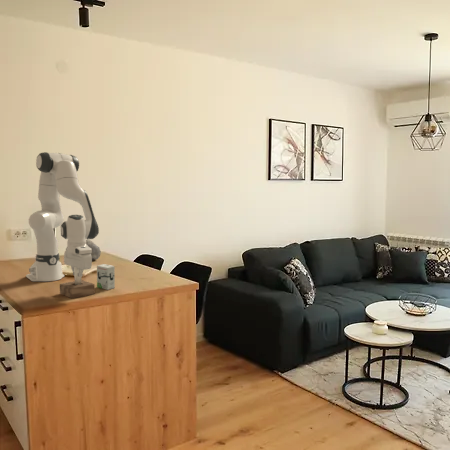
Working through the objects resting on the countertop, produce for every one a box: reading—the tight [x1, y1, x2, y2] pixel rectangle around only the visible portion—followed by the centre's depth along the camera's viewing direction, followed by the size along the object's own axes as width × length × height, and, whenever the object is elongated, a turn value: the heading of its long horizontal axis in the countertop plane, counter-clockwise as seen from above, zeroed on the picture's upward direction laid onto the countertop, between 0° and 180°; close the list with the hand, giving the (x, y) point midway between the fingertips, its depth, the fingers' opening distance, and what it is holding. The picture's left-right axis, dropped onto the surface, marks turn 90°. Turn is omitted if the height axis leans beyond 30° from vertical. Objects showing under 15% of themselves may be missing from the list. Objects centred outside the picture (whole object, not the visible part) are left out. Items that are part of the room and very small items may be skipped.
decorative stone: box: [86, 239, 102, 261], centre depth 312 cm, size 15×10×15 cm
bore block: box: [59, 279, 96, 299], centre depth 228 cm, size 12×12×5 cm
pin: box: [73, 267, 82, 285], centre depth 227 cm, size 3×3×10 cm
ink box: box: [96, 263, 116, 291], centre depth 240 cm, size 9×5×12 cm, turn 56°
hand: (77, 275), depth 227 cm, fingers closed on pin, 3 cm apart
